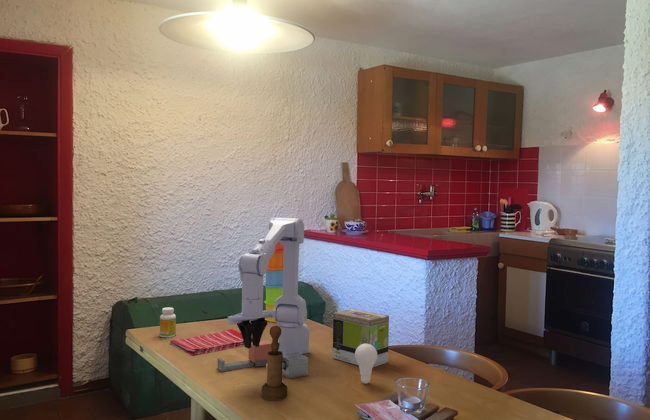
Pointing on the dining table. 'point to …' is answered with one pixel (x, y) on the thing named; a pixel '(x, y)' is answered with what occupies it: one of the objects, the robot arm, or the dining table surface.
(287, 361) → the grey block with hole
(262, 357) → the block
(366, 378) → the lightbulb
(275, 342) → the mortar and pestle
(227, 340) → the dish towel
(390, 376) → the dining table surface
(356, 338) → the tea box
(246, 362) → the rail
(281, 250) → the stacking cups
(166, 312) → the supplement bottle
